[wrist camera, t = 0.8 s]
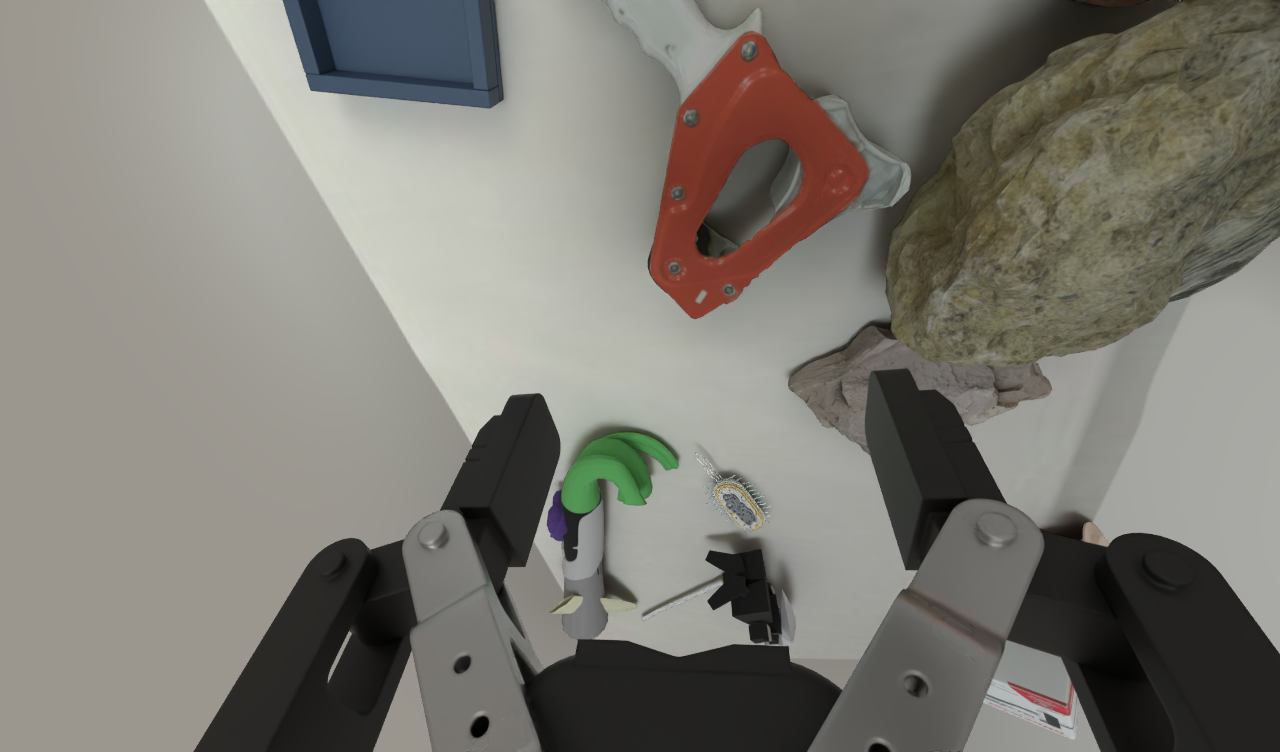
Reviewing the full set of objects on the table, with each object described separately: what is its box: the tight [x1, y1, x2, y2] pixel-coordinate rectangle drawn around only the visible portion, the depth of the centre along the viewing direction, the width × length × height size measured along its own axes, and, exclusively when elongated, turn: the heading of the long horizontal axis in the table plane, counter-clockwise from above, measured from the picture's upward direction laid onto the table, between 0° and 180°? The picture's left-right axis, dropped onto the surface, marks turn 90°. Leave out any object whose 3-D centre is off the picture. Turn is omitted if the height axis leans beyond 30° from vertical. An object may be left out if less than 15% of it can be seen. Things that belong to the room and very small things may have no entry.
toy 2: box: [641, 549, 796, 646], centre depth 53 cm, size 8×20×15 cm
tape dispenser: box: [603, 0, 912, 319], centre depth 25 cm, size 18×5×20 cm
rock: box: [885, 0, 1280, 367], centre depth 22 cm, size 15×19×15 cm
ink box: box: [983, 640, 1080, 740], centre depth 53 cm, size 8×5×12 cm
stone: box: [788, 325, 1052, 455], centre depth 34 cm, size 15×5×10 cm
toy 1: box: [547, 432, 679, 640], centre depth 49 cm, size 6×11×30 cm
